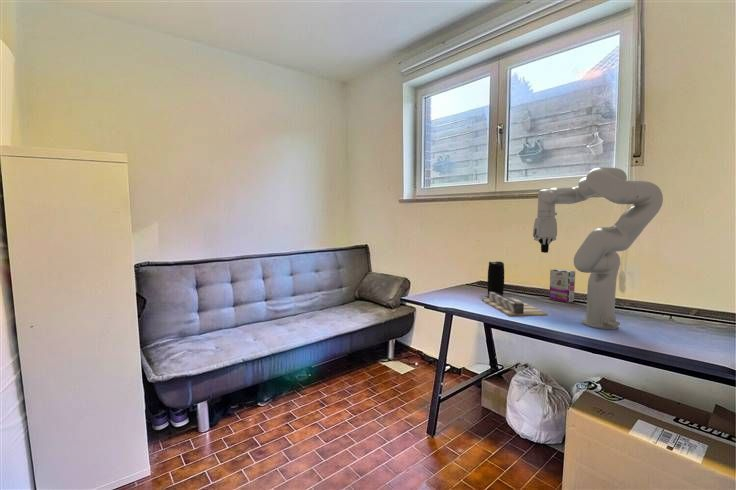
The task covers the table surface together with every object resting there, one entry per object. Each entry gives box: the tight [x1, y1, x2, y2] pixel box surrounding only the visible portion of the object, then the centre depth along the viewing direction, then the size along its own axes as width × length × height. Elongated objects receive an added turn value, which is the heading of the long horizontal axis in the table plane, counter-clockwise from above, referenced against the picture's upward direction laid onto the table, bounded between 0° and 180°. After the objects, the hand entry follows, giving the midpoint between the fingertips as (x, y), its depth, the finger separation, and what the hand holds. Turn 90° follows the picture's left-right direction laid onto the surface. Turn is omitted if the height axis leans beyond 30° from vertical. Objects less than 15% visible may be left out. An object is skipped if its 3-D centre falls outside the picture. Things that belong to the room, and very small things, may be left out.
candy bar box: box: [549, 268, 576, 304], centre depth 182 cm, size 11×5×16 cm, turn 25°
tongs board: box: [481, 292, 548, 317], centre depth 169 cm, size 30×18×5 cm, turn 5°
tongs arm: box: [493, 292, 518, 303], centre depth 169 cm, size 25×2×4 cm, turn 6°
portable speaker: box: [487, 261, 505, 297], centre depth 190 cm, size 9×9×20 cm
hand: (544, 252), depth 168 cm, fingers closed
